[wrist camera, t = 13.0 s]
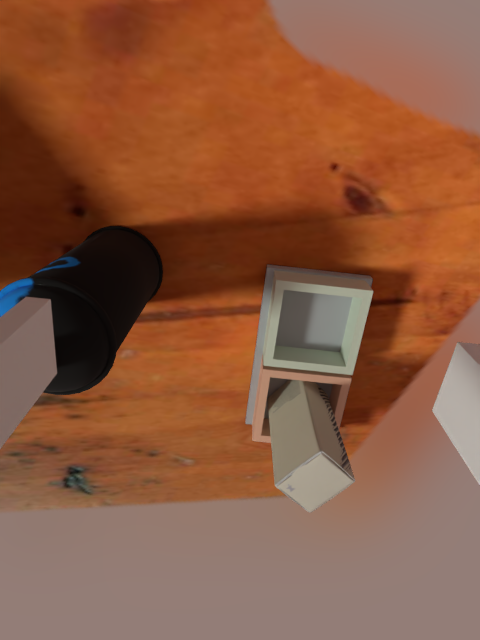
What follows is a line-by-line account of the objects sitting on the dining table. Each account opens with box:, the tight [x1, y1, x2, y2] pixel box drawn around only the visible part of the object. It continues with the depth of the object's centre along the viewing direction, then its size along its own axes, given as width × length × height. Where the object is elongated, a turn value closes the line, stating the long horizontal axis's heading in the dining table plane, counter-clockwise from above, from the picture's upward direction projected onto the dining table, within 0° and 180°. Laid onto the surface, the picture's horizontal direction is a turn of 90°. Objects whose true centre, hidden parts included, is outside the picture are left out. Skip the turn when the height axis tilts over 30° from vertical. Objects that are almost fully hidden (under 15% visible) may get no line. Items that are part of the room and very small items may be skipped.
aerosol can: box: [0, 226, 163, 395], centre depth 32 cm, size 8×8×20 cm
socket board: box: [246, 264, 373, 443], centre depth 43 cm, size 18×10×4 cm, turn 174°
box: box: [268, 379, 355, 512], centre depth 39 cm, size 5×4×13 cm
